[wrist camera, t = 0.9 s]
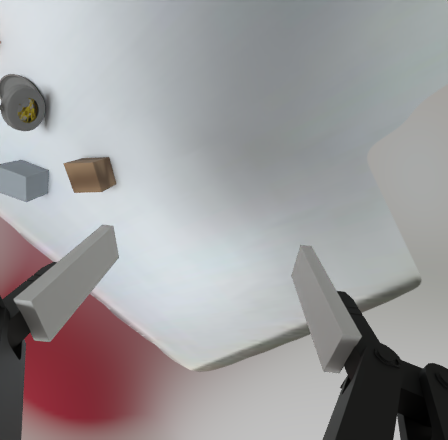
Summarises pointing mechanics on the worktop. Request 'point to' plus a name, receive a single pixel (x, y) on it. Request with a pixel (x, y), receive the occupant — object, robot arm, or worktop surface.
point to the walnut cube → (90, 174)
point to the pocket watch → (21, 103)
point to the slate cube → (23, 180)
